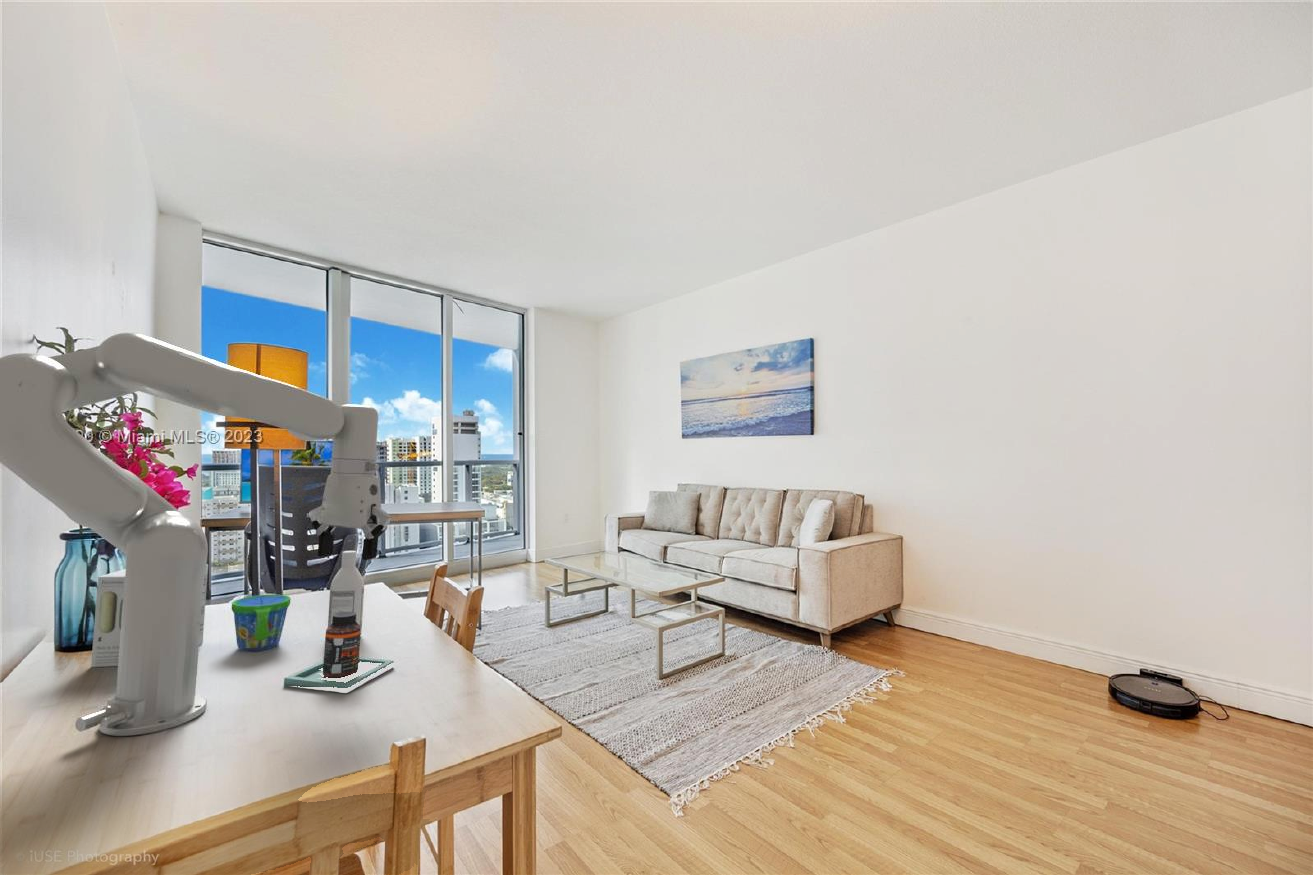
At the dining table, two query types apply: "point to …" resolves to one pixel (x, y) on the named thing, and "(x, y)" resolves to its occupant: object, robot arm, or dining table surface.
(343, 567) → the bath foam
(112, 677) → the dining table surface
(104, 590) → the supplement box
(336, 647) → the supplement bottle
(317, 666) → the tray
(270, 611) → the snack cup
